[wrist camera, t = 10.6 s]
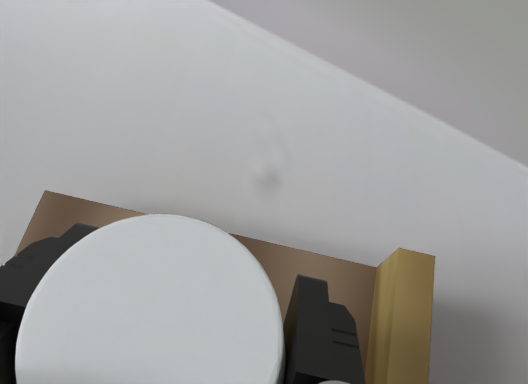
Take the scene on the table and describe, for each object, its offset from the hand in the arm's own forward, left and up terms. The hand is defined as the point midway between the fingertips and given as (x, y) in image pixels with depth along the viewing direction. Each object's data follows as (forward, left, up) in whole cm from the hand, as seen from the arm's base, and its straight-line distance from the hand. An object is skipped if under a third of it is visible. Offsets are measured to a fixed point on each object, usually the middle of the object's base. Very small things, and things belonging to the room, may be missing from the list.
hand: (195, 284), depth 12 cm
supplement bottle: (0, -2, -4) cm, 5 cm away
